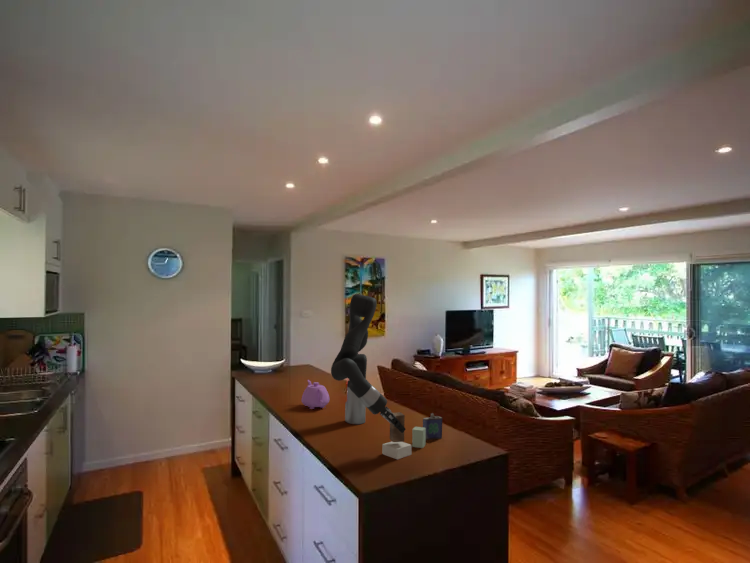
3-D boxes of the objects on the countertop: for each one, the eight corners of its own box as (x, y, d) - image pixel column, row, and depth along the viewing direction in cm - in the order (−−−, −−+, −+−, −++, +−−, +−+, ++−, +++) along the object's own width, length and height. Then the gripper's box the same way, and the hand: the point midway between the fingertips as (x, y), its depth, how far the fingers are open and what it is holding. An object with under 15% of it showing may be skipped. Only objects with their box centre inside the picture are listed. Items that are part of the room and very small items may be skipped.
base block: (382, 454, 164) (382, 444, 164) (396, 450, 169) (396, 439, 169) (397, 460, 158) (397, 449, 158) (411, 455, 163) (411, 444, 164)
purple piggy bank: (295, 404, 243) (295, 380, 244) (320, 401, 250) (321, 378, 251) (308, 412, 224) (308, 386, 224) (335, 409, 231) (335, 384, 232)
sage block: (412, 446, 172) (412, 429, 173) (414, 443, 177) (415, 426, 177) (422, 448, 171) (423, 430, 171) (425, 444, 175) (425, 427, 176)
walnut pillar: (393, 442, 161) (393, 415, 162) (389, 438, 165) (390, 412, 166) (404, 441, 162) (404, 415, 163) (400, 437, 167) (400, 412, 167)
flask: (424, 440, 181) (424, 415, 181) (421, 438, 184) (421, 413, 184) (443, 438, 184) (443, 413, 184) (440, 436, 186) (440, 412, 187)
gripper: (384, 395, 156) (414, 427, 158) (374, 388, 170) (402, 417, 172) (370, 411, 154) (401, 442, 157) (361, 402, 168) (389, 431, 171)
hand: (401, 429), depth 165 cm, fingers closed on walnut pillar, 4 cm apart
